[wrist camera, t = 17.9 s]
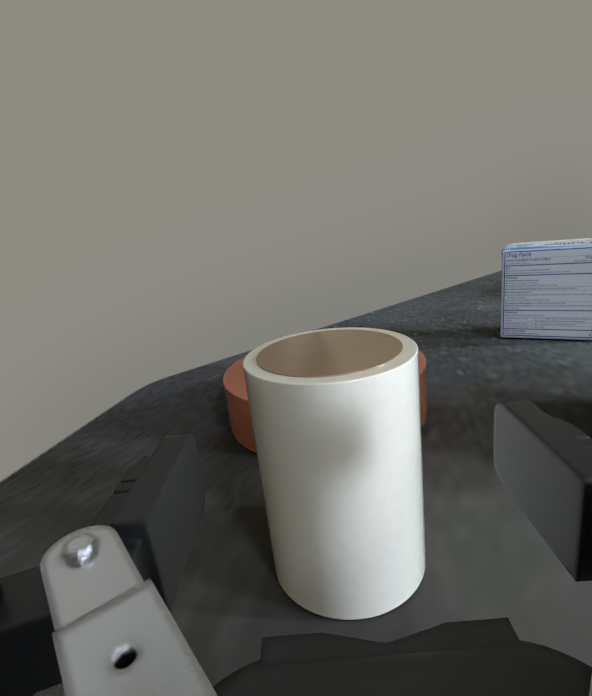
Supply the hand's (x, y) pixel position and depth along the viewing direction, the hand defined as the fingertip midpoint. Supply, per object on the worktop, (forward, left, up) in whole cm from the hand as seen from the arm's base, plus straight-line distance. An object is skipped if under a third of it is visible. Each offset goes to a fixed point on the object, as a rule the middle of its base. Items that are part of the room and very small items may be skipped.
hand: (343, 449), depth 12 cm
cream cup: (0, +5, -8) cm, 9 cm away
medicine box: (+22, +31, -8) cm, 38 cm away
